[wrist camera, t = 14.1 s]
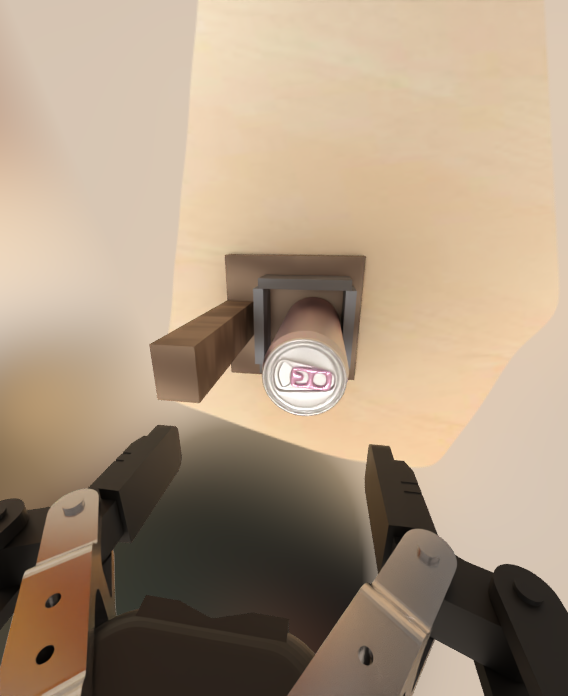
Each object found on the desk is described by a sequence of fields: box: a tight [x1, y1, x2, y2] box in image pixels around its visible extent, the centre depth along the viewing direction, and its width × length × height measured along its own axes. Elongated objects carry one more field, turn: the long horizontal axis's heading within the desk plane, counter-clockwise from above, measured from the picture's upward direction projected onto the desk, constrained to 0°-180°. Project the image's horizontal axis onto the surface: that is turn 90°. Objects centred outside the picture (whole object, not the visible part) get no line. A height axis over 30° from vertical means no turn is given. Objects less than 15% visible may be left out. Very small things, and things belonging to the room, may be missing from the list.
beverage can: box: [262, 297, 349, 416], centre depth 26 cm, size 6×6×15 cm
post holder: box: [150, 254, 366, 403], centre depth 27 cm, size 14×15×18 cm
